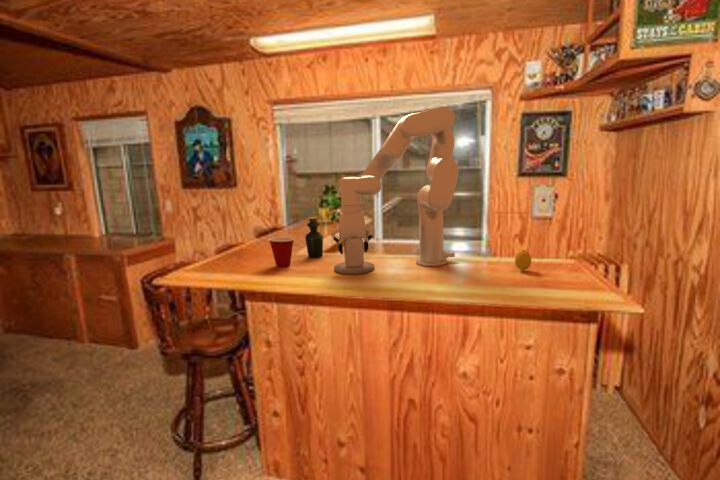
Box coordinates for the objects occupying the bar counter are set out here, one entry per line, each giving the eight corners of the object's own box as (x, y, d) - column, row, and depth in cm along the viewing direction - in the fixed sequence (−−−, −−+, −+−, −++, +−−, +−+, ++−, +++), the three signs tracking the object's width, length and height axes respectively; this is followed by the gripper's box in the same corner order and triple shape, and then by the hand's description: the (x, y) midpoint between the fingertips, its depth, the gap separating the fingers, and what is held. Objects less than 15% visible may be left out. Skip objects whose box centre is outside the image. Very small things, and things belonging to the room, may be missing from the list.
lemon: (530, 269, 145) (531, 248, 143) (531, 273, 140) (532, 251, 138) (514, 268, 146) (514, 248, 145) (514, 272, 141) (515, 251, 140)
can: (362, 268, 151) (360, 238, 148) (343, 268, 152) (341, 238, 150) (365, 263, 158) (364, 234, 156) (347, 263, 159) (346, 234, 157)
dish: (370, 262, 164) (370, 259, 164) (378, 272, 149) (378, 269, 149) (332, 265, 162) (332, 262, 162) (336, 276, 146) (336, 273, 146)
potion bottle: (303, 257, 179) (300, 218, 176) (317, 253, 185) (314, 216, 181) (313, 259, 174) (310, 219, 170) (327, 256, 179) (325, 217, 175)
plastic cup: (301, 264, 166) (299, 237, 163) (280, 270, 158) (278, 241, 156) (286, 261, 173) (284, 234, 171) (265, 266, 165) (263, 238, 163)
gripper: (371, 207, 156) (373, 248, 159) (328, 209, 153) (330, 252, 156) (375, 209, 148) (377, 252, 152) (330, 211, 146) (332, 256, 149)
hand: (353, 252), depth 154 cm, fingers open, 9 cm apart
